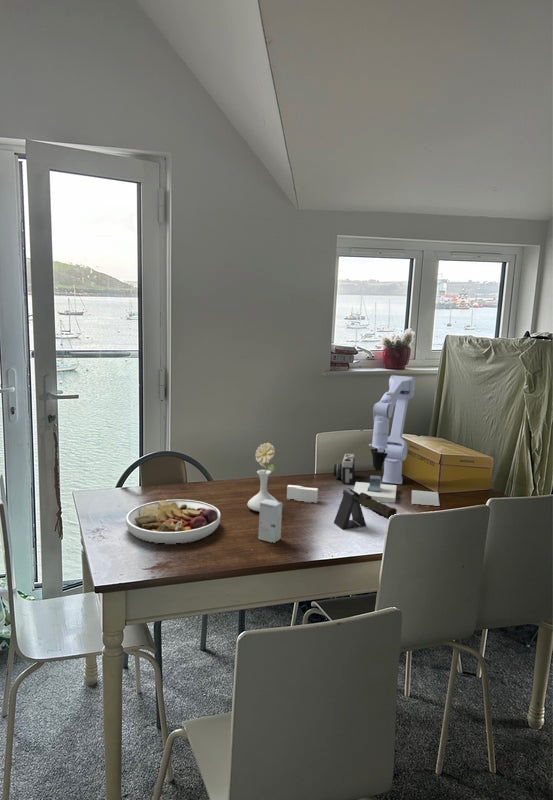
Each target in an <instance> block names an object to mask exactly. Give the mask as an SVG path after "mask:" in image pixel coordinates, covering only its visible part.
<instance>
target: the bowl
mask: <svg viewBox="0 0 553 800" xmlns="http://www.w3.org/2000/svg"><path fill="white" fill-rule="evenodd" d="M125 523H126V527H127V529H128V531H129V533H130V534H132V535H133V536H134V537H135V538H137V539H139V540H141V539H142V540H141V541H144V540H145V541H144V542H147V541H149V542H148V543H151V542H154V543H153V544H158V543H165V544H164V545H177V544H176V543H181V544H188V543H193V542H195V541H196V542H197V541H199V540H201V539H204V538H207V537H208V536H210V535H211V534H212V533H214V532H215V530H217V528H218V527H219V526H220V523H221V512H220V510H219V508H217V507H216V506H215V505H212V504H210V503H207V502H203V501H200V500H193V499H166V500H165V499H163V500H158V501H157V500H156V501H151V502H147V503H144V504H141V505H139V506H137V507H135V508H133V509H131V510H130V511H129V512H128V513H127V515H126V516H125ZM187 542H188V543H187Z"/></svg>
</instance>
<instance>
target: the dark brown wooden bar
mask: <svg viewBox="0 0 553 800" xmlns="http://www.w3.org/2000/svg"><path fill="white" fill-rule="evenodd" d="M359 495H360V498H359V502H360V504H361V505H360V506H361V507H363V506H364V508H365V507H368V509H370V510H372V511H375V512H377V513H379V514H380V515H383V516H385V517H386V518H387V519H388V518H389V517H390V516H391V515H394V514H396V515H397V514H398V510H397V509H396V508H395V507H390V506H388V505H387V504H385V503H383V502H377V501H375V500H374V499H371V496H369V495H367V494H365V493H360V494H359Z"/></svg>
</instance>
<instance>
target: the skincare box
mask: <svg viewBox="0 0 553 800" xmlns="http://www.w3.org/2000/svg"><path fill="white" fill-rule="evenodd" d="M258 515H259V516H258V517H259V518H258V519H259V520H258V536H257V538H258V540H261V541H264V542H268V543H272V542H273V544H274V543H276V541H277V542H278V541H280V540H281V538H282V536H281V535H282V519H283V518H282V517H283V502H281V501H278V500H277V501H275V500H269V499H265V500H263V501H262V502H260V511H259V514H258Z"/></svg>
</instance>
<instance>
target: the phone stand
mask: <svg viewBox="0 0 553 800" xmlns="http://www.w3.org/2000/svg"><path fill="white" fill-rule="evenodd" d="M353 490H354V489H351V488H350V487H348V488H347V487H345V488H343V491H342V498H341V502H340V504H339V507H338V509H337V512H336V515H335V519H334V521H333V523H334V524H335V525H336V526H338V527H339V528H340V529H341V530H349V529H350V530H351V529H356V528H358V529H359V528H363V527H366V526H367V524H366V520H365V517H364V513H363V510H362V505H360V502H359V498H360V495H359V494H358V493H357V492H355V491H353ZM351 517H352V519H350V518H351Z"/></svg>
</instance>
